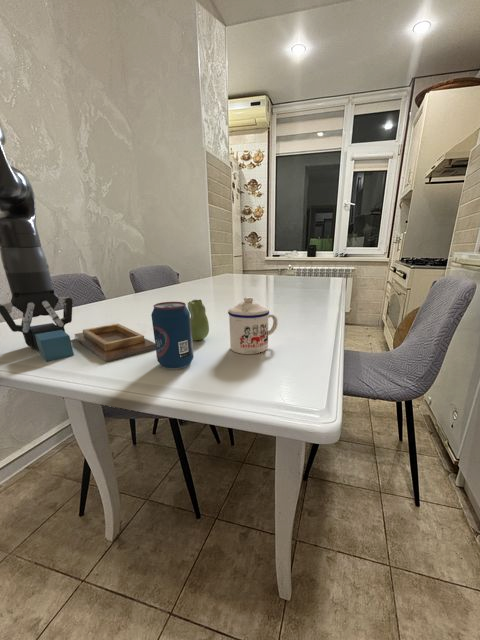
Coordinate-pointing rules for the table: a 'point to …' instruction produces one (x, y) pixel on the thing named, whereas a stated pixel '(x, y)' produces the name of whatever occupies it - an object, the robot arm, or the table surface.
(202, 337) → the pear
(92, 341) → the frame
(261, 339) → the teacup with lid
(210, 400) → the table surface
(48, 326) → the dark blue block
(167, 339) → the soda can
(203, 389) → the table surface
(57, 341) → the teal block
